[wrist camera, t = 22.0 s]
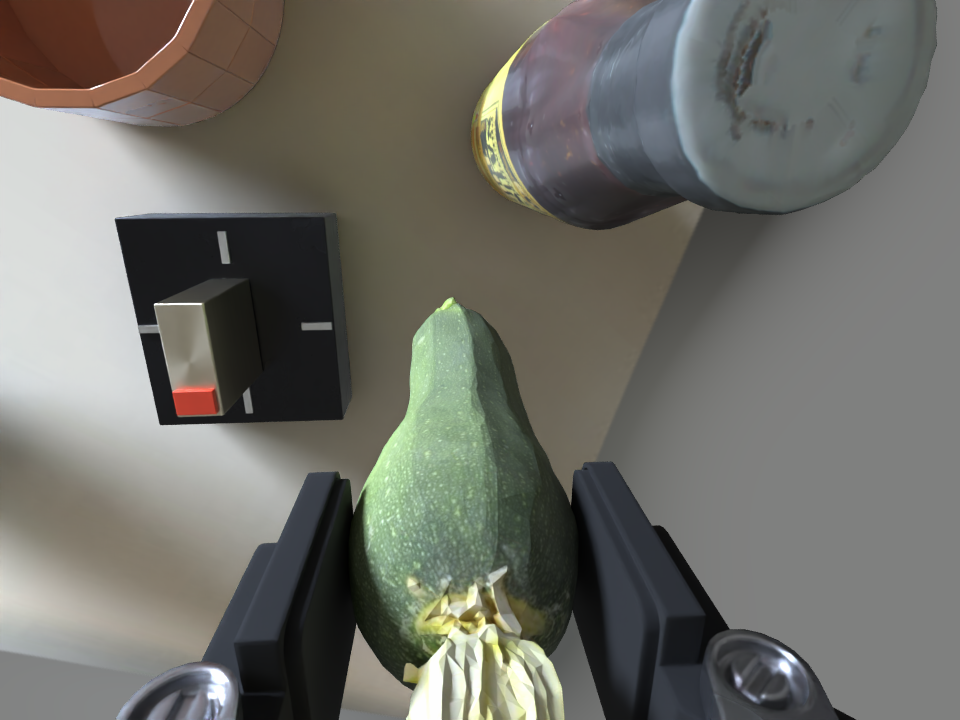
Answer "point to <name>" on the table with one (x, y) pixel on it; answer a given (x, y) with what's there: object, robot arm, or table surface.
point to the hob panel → (275, 297)
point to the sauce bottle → (701, 105)
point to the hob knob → (209, 345)
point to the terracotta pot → (136, 56)
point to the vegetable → (465, 538)
